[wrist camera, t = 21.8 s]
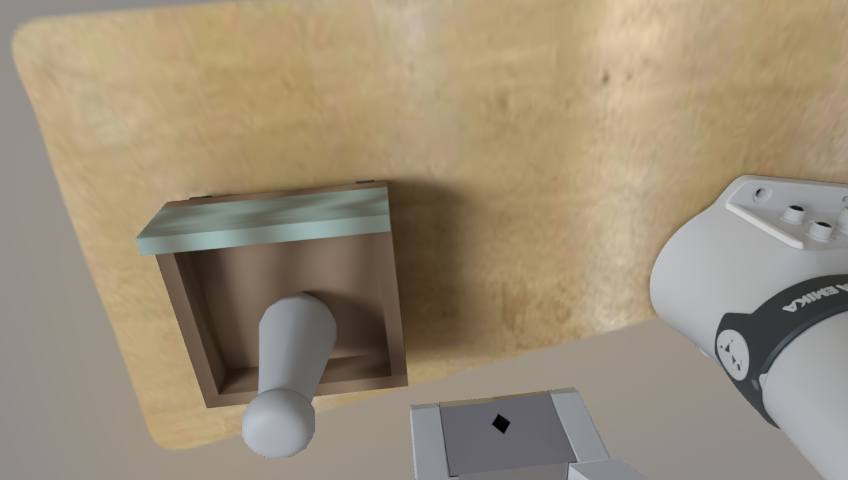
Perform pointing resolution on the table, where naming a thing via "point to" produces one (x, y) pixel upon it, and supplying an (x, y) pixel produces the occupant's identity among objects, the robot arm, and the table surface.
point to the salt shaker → (289, 375)
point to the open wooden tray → (282, 281)
